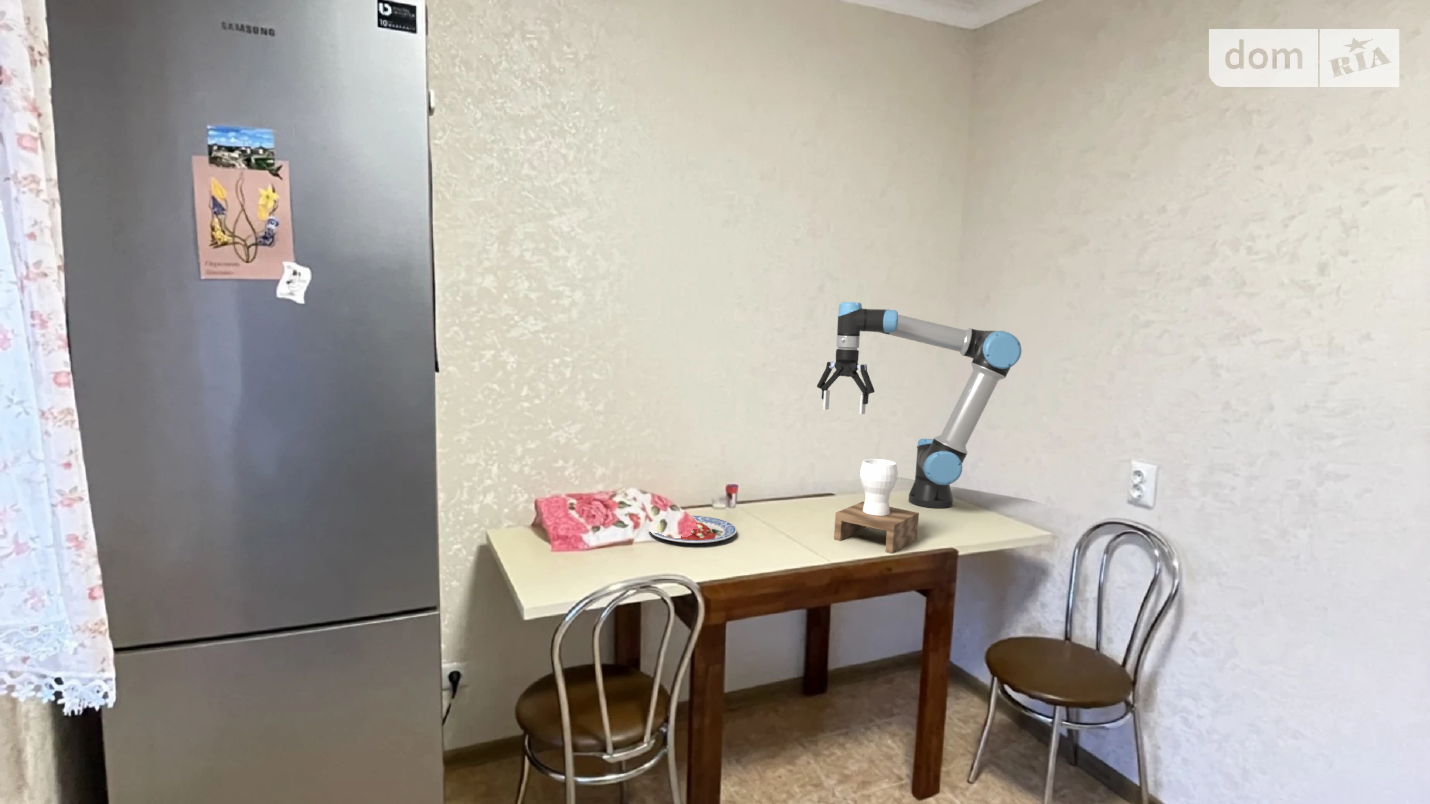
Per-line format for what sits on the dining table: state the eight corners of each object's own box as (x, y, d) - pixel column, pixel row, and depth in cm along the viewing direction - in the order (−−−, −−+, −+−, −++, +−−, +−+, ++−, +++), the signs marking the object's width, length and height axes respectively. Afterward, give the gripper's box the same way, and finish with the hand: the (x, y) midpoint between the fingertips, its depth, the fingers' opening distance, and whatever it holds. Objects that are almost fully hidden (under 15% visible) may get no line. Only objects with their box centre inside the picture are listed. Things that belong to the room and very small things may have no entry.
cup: (892, 508, 217) (895, 459, 215) (897, 518, 207) (900, 466, 205) (856, 506, 218) (859, 457, 216) (859, 516, 208) (862, 464, 206)
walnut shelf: (861, 526, 226) (863, 501, 225) (917, 539, 215) (919, 512, 214) (833, 539, 211) (835, 512, 210) (892, 553, 201) (894, 525, 200)
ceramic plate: (634, 543, 202) (635, 532, 201) (663, 518, 227) (663, 509, 226) (725, 553, 196) (725, 543, 196) (743, 527, 221) (744, 518, 220)
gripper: (809, 346, 247) (806, 408, 250) (877, 351, 232) (873, 416, 235) (820, 346, 253) (816, 406, 256) (887, 350, 238) (882, 414, 241)
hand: (843, 411), depth 245 cm, fingers open, 13 cm apart
